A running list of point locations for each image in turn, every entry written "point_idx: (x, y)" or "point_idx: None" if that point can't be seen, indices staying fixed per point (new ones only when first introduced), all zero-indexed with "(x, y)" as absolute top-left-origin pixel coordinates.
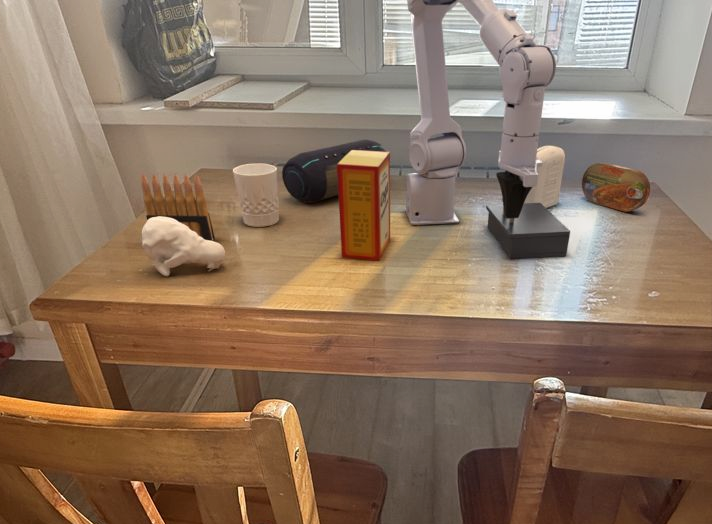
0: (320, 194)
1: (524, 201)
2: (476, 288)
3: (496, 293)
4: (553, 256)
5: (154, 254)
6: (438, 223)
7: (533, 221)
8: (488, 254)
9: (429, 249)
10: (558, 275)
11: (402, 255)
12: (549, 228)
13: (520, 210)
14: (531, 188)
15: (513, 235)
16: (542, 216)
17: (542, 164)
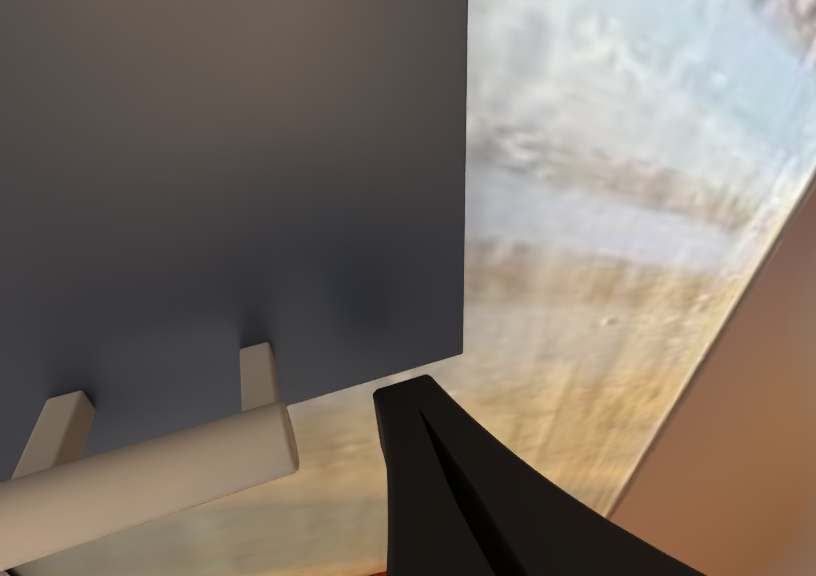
0: None
1: (521, 459)
2: (594, 360)
3: (636, 312)
4: None
5: None
6: (3, 571)
7: (214, 200)
8: None
9: (316, 511)
10: (599, 71)
11: (366, 546)
12: (386, 87)
13: (461, 410)
14: (690, 567)
15: (459, 332)
16: (6, 73)
17: None
